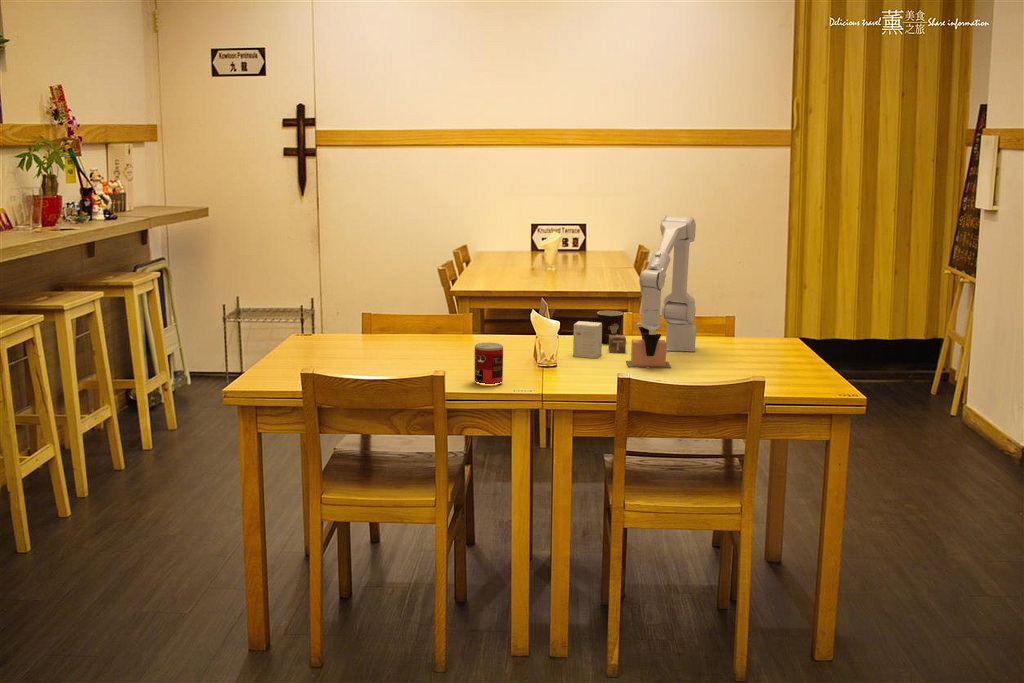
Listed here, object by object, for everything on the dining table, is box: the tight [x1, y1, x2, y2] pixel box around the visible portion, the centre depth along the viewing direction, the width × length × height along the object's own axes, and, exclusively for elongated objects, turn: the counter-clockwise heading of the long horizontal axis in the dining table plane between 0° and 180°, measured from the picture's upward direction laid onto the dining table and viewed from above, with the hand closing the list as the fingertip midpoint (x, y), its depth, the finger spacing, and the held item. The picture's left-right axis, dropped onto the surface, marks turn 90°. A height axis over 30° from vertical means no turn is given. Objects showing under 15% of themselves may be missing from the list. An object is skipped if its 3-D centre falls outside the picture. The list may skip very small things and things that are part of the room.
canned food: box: [474, 342, 504, 384], centre depth 292 cm, size 8×8×11 cm
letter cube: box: [608, 334, 627, 354], centre depth 334 cm, size 5×5×5 cm
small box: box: [572, 320, 603, 359], centre depth 327 cm, size 8×6×10 cm
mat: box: [625, 360, 672, 369], centre depth 317 cm, size 13×7×1 cm, turn 89°
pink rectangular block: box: [630, 338, 667, 366], centre depth 316 cm, size 10×5×7 cm, turn 89°
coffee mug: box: [587, 310, 624, 346], centre depth 346 cm, size 12×9×10 cm
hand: (648, 352), depth 316 cm, fingers open, 7 cm apart
